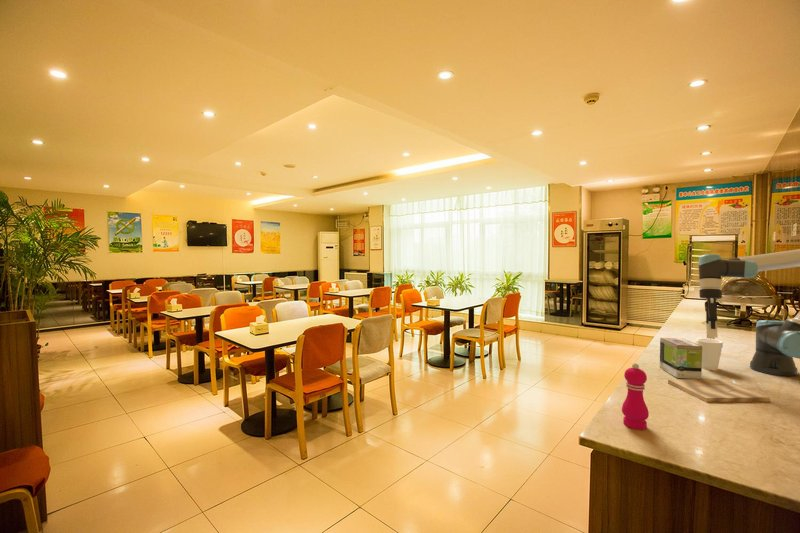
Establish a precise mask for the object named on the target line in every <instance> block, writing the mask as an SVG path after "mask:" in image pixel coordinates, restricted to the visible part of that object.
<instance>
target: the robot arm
mask: <svg viewBox="0 0 800 533" xmlns="http://www.w3.org/2000/svg"><path fill="white" fill-rule="evenodd" d="M697 266H698V280H699V281H697V284H698V285H699V289H700V290H699V291H698V292H699V298H700V299H706V301H705V302H704V308H705V316H706V317H705V325H706V338H707V339H715V340H716V338H718V313H717V311H718V301H717V300H719V299H722V298H723V291H722V288H723V287H722V285H723V284H722V282H723V280H722V278H740V279H741V278H742V279H743V278H744V279H752V278H755V277H756V276H757V274H758V273H759V272H765V271H773V270H782V269H789V268H791V269H792V268H798V267H800V248H799V249H791V250H784V251H776V252H770V253H768V252H767V253H762V254H754V255H747V256H741V257H740V256H739V257H734V258H727V259H726V258H721V255H719V254H714V253H713V254H712V253H710V254H708V253H707V254H702V255H700V256H699V257H698V265H697ZM755 325H756V326H755V352H754V354H753V357H752V359H751V360H750V362H749V368H750V369H752V370H754V371H756V372H760V373H764V374H768V375H776V376H783V377H796V376H798V373H799V370H798V367H797V366H796V362H795V361H794V359H800V310H799V311H798V312H797V314H796V315H795V316H794V317H793V318H787V319H786V320H785V321H784V320H765V319H763V320H762V319H759V320H757V321H756V324H755Z"/></svg>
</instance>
